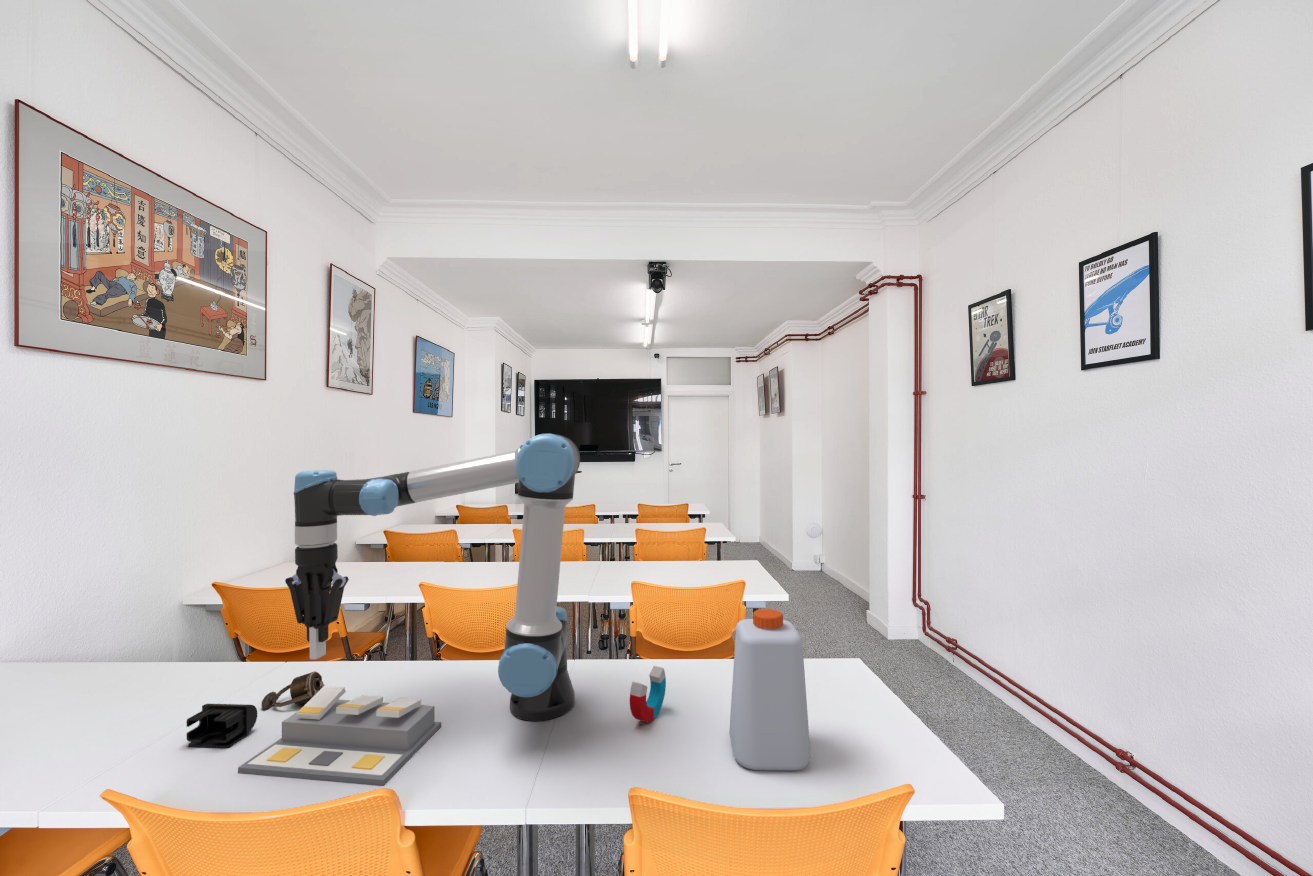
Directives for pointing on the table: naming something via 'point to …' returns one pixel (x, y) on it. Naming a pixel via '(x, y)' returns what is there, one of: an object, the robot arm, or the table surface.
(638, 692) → the magnet
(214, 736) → the end cap
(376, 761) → the switch unit
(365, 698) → the rocker middle
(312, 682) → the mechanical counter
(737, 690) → the plastic bottle
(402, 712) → the rocker
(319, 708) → the rocker
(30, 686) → the table surface
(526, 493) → the robot arm
